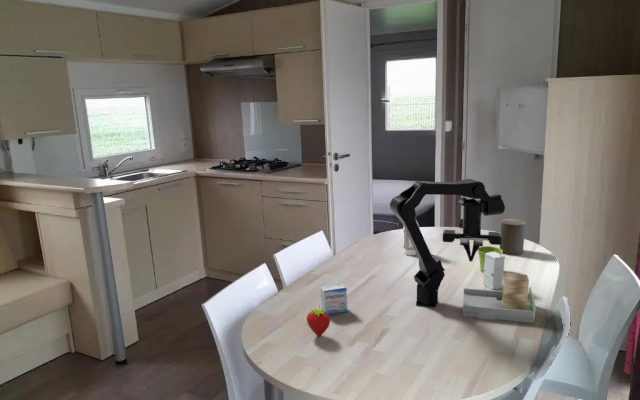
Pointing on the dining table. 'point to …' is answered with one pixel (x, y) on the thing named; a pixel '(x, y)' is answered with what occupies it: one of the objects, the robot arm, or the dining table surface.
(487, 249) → the plant pot
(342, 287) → the medicine box
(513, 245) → the pillar candle
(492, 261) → the skincare box
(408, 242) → the bath foam
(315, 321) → the strawberry
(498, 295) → the lane
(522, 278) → the block
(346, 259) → the dining table surface
